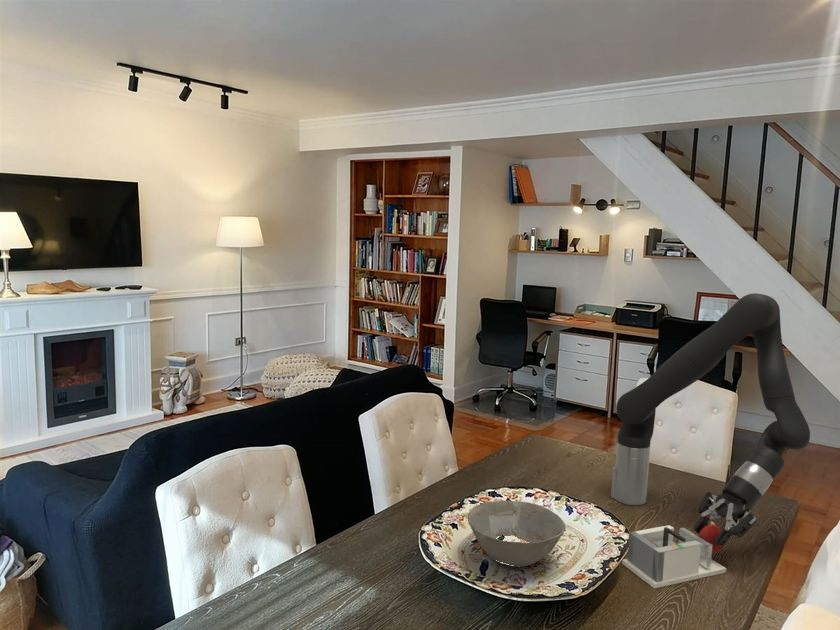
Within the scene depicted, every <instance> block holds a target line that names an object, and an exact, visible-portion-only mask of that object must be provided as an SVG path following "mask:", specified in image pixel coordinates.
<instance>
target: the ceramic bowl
mask: <svg viewBox="0 0 840 630" xmlns="http://www.w3.org/2000/svg"><path fill="white" fill-rule="evenodd" d="M467 521H468V522H467V523H468V525H469V527H470V529H471V531H472V533H473V535H474V536H475V539H476V540H477V542H478V543H479V545H480V546H481V549H482V550H483V551H484V552H485V553H486V554H487V556H488V555H489V556H490V557H489V556H488V557H489V558H491V559H492V558H493V559H495V560H497V561H499V562H503V563H506V564H509V565H514V566H526V567H528V565H529V566H531V565H532V566H533V564H535V563H538V562H540V560H542V559H545V557H547V556H548V555H549V554H550V553H551V552H553V550H554V548H555V547H556V545H557V544H558V542H559V541H560V539H561V537H562V536H563V535H564V533H565V531H566V527H567V526H566V524H565V522H564V520H563V519H562V518H561V517H560V516H559V515H558V514H557V513H555V512H553V511H552V510H550V509H549V508H547V507H544V506H543V505H539V504H537V503H532V502H528V501H518V500H510V499H509V500H494V501H493V500H492V501H484V502H482V503H480V504H477V505H476V506H475V507H473V508H471V509H470V510H469V511H468V513H467ZM502 535H503V536H511V535H514V536H515V537H517V538H518V539H522V540H525V541H526V542H529V543H522V542H507V541H503V540H499V539H496V538H497V537H498V536H502ZM493 559H492V560H493ZM495 560H494V561H495ZM497 561H496V562H497Z"/></svg>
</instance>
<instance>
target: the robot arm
mask: <svg viewBox="0 0 840 630" xmlns="http://www.w3.org/2000/svg"><path fill="white" fill-rule="evenodd" d="M780 309H781V308H780V306H779V304H778V302H777V301H776V299H774V298H773V297H772V296H769V295H767V294H763V293H749V294H746V295H744V296H742V297H740V298H739V299H738V300H737V301H736V302H735V303H734V304H733V305H732V306H731V307H730V308H729V309H728V310H727V311H726V312H725V313H724V314H723V315H722V316H721V317H720V318H719V319H718V320H716V322H714V323H713V324H712V325H711V326H709V327H708V328H707V329H706V330H703V331H702V332H701V333H699V334H698V335H697V336H695V337H694V338H692V339H691V340H690V341H688V342H687V343H686V344H685V345H683V346H682V347H681V348H680V349H679V350H677V351H676V352H674V354H672V355H671V356H670V357H669V358H667V360H666V361H664V362H663V364H661V365H660V366H659V367H658V368H657V370H655V371H654V372H653V373H652V375H650V376H649V377H648V378H647V379H646V380H645V381H643V382H642V383H640V384H639V385H638V386H636V387H634V388H632V389H630V390H629V391H626V392H625V393H624V394H622V395H621V396H620V397H619V399H618V400H617V402H616V405H615V406H616V407H615V410H616V414H617V417H618V418H619V419H620V421H621V422H622V423H621V425H620V428H619V430H618V433H617V439H616V440H617V441H616V443H617V444H616V454H615V465H614V466H613V467H612V476H611V487H610V488H611V489H610V498H612V499H614V500H616V501H617V502H619V503H621V504H624V505H629V506H641V505H644V504H645V503H646V502H647V496H648V495H647V491H648V480H649V479H648V478H649V467H650V455H651V454H650V452H651V441H652V438H653V435H654V431H655V429H654V428H655V421H656V420H655V419H656V410H657V408H658V407H659V406H660V405H661V404H662V403H664V402H665V401H666V400H667V399H669V398H671V397H672V396H675V394H678V393H679V392H682V391H683V390H684V389H686V388H688V387H689V386H691V385H692V384H694V383H695V382H697V381H699V380H700V379H702V378H703V377H704V376H705V375H707V374H708V372H710V371H712V370H713V369H714V368H715V367H716V366H717V365H718V364H719V363H720V362H721V360H722V359H723V358H724V357H725V355H726V354H727V353H728V352H729V350H731V349H732V348H733V347H734V346H735V345H736V344H737V343H739V342H740V341H741V340H743V339H744V338H746V337H748V336H749V335H751V336H752V338H753V340H754V345H755V350H756V356H757V377H758V384H759V389H760V391H761V392H760V393H761V396H762V400H763V401H762V402H763V404H764V407H765V409H766V410H768V411H769V412H772V413H773V414H774V416H775V418H776V420H775V421H773V422H771V423H770V424H769V425H768V426H766V427H765V429H764V430H763V432H762V433H761V435H760V438H759V441H758V443H757V445H756V448H755V450H753V452H752V453H751V454H750V456H749V457H748V458H747V459H746V461H745V462H744V463H743V464H742V465H741V466H740V467H739V468H738V469H737V470H736V471H735V473H733V475H732V477H731V478H729V482H728V483H727V484H726V485H725V484H724V485H725V487H724V486H723V488H722V490H723V492H722V494H720V493H719V494H720V495H719V494H718V495H715V494H712V493H711V492H710V491H707V492H706V493H705V495H704V497H703V499H702V500H701V503H700V504H699V506H698V507H697V512H698V513H699V515H700V517H699V519H698V520H697V521H696V523H694V525H693V530H694V532H695V533H696V534H698V535H699V533H700V531H701V530H702V529H703V528H704V527H705V526H707V525H710V522H713V520H715V519H719V518H724V519H725V522H726V523H725V526H724V529H723V528H722V529H721V532H720V533H719V535H718V536H717V537H716V539H715V540H714V542H715V543H716V544H717V545H718V546H719V547H721V546H723V545H726V544H727V542H728V541H729V540H730V538H731V537H733V536H736V537H738V538H742V537H744V535H746V533H747V532H748V531H749V530H751V529H752V527H754V526H755V525H756V524H757V523H758V519H757V518H756V516H755V515H753V513H752V512H750V510H753V508H754V507H755V506H756V505H757V504H758V502H759V501H760V500H761V498H762V497H763V495H765V493H766V492H767V491H768V489H769V488H770V486H771V484H772V482H773V481H774V479H775V478H776V477H777V475H779V473H780V472H781V470H782V469H783V467H784V465H785V459H784V457H783V455H784V453H785V451H786V450H801V449H805V448H806V447H807V446H808V445H809V442H810V440H811V439H810V438H811V432H810V427H809V424H808V422H807V420H806V417H805V416H804V414H803V412H802V410H801V408H800V406H799V405H798V403H797V401H796V397H795V393H794V392H795V391H794V389H793V388H794V387H793V384H792V381H791V376H790V374H789V369H788V365H787V360H786V357H785V351H784V346H783V338H782V330H781V329H782V328H781V327H782V325H781V310H780ZM740 519H741V520H740Z"/></svg>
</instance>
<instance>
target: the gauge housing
mask: <svg viewBox="0 0 840 630" xmlns="http://www.w3.org/2000/svg"><path fill="white" fill-rule="evenodd" d="M664 527H667V528H669V529H670V530H672V531H674V532H675V527H673V526H671V525H669V524H667V525H662V526H658V527H657V526H656V527H651V528H646V529H641V530H636V531H635V530H634V531H630V532H628V543H627V544H628V545H630V546H629V549H628V548H627V557H626V558H624V559H622V562H621V564H622V565H623V566H625V567H626V568H628V570H630V571H631V572H632V573H634V574H635V575H636V576H637V577H639V578H640V579H641V580H643V581H644V582H646V583H647V584H648V585H650V586H651V588H653V589H655V590H656V589H658V588H663V587H667V586H672V585H677V584H680V583H686V582H689V581H694V580H698V579H703V578H709V577H712V576H716V575H721V574H725V573H727V568H726V567H725V566H723V565H722V564H721V563H719V562H717V561H716V560H714V559H713V558H711V567H710V568H705V567H704V566H702V565H701V564H699V561H700V550H701V544H700V543H699V542H697V541H690V542H685V543H680V544H679V542H678V543H677V542H676V544H672V545H670V546H665V547H660V548H658V547H657V546H655V545H654V544H653V543H652V542H655V541H660V540H663V534H664ZM668 539H670V540H672V541H673V542H674V536H673V535H671V534H670V533H669V538H668ZM628 545H627V546H628Z"/></svg>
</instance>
